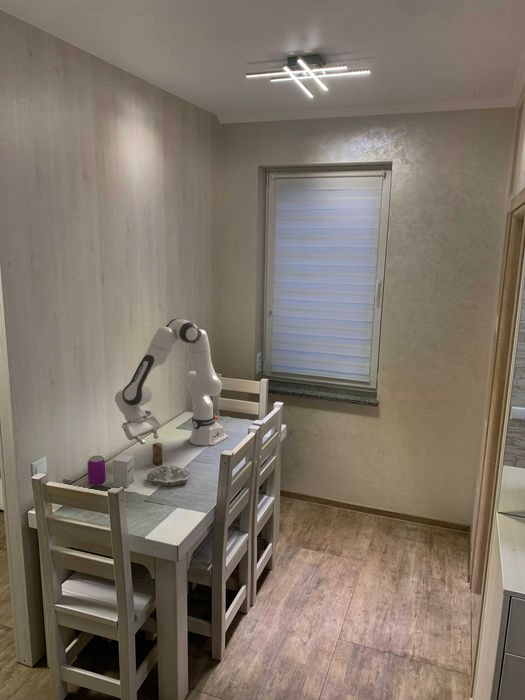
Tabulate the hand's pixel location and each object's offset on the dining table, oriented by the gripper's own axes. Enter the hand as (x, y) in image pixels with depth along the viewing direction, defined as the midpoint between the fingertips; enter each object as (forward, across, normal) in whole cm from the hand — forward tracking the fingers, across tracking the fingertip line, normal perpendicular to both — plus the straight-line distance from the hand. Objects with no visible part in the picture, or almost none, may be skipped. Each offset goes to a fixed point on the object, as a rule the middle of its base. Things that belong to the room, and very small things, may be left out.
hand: (150, 441), depth 255 cm
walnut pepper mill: (+11, 0, +4) cm, 12 cm away
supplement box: (+13, -25, +3) cm, 28 cm away
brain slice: (+22, -10, -6) cm, 25 cm away
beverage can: (+5, -31, +10) cm, 33 cm away
